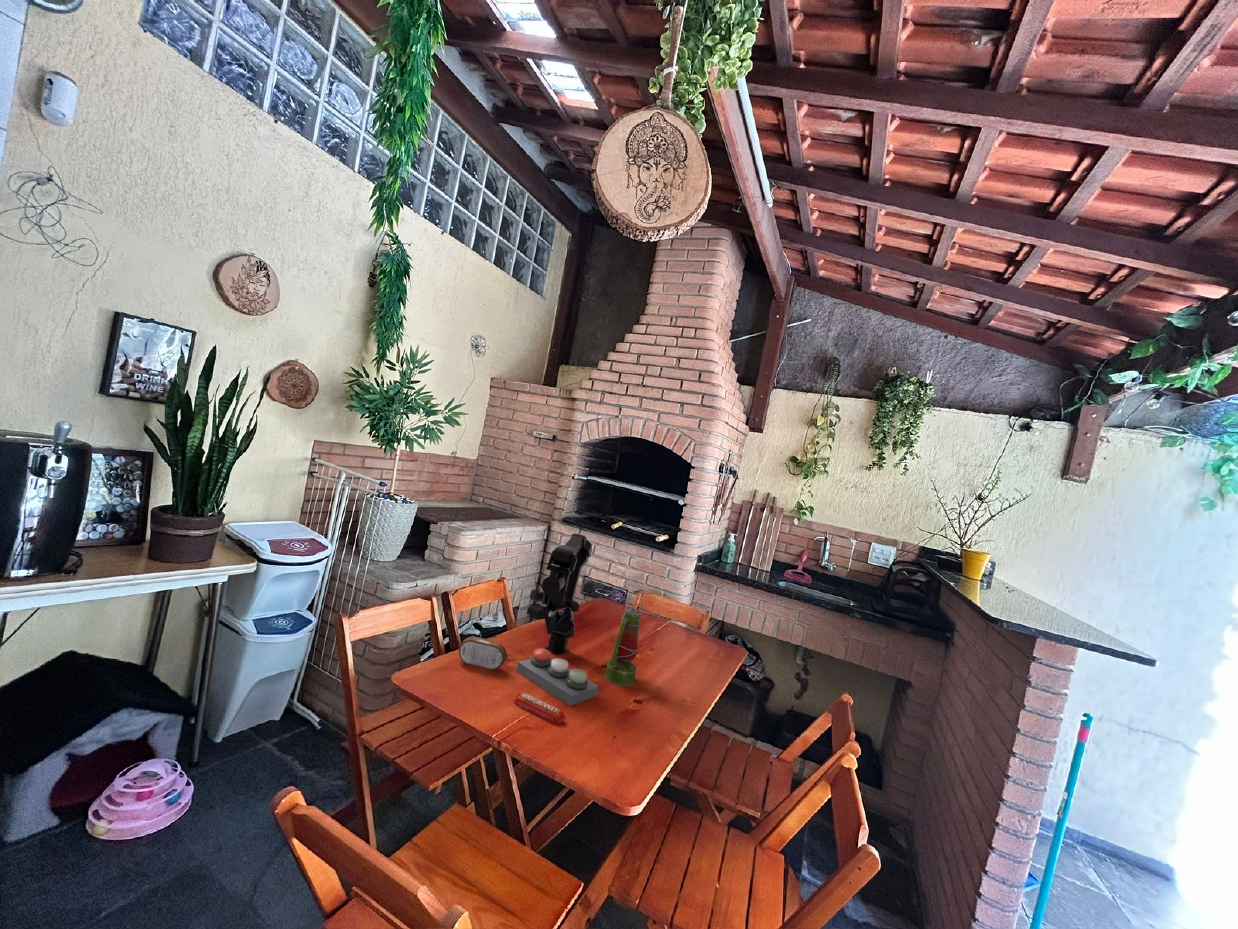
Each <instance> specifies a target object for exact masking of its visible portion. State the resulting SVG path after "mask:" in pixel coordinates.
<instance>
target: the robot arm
mask: <svg viewBox="0 0 1238 929" xmlns="http://www.w3.org/2000/svg"><path fill="white" fill-rule="evenodd" d="M551 551H552V552H551V553H550V556H549V560H548V561H547V562H548V563H547V565H546V567H545V568H546V570H547V571H549V575H548V576H546V577H545V578H544V579H543V580H542V582H541V589H542V590H539V588H537V589H531V591H530V594H529V596H530V600H531V601H533V603H535V604H530V605H528V606H527V610H526V614H527V615H529V616H531V617H532V618H534V619H536V620H539V621H541V620H544V622H545V628H546V633H547V634H548V635H550V637H549V640H548V644H547V645H546V646H544V649H546V650H548V651H550V652H551V653H552V654H555V655H559V656H560V655H563V654H566V653H569V652H570V649H568V644H569V639H570V638H574V637H575V632H576V631H575V630H576V629H575V628H576V625H575V621H574V619H575V618H574V617H575V616H574V613H576V612H579V609H580V603H579V602H578V601H576V600H575V596H576V591H577V589H578V584H579V580H580V576H581V573H582V572H581V571H582V569H583V568H584V566H585V565H587V563H588V562H589V558H591V557H592V553H593V546H592V543H591V542H590V541H589V540H588V538H587V536H585V535H583V534H579V533H572V534H571V537H570V538H569V540H568V541H567V542H566V543H565V544H564V545H558V546H556V547H555V548H554V549H553V550H551ZM537 602H541V604H540V603H537Z"/></svg>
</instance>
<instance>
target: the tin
mask: <svg viewBox="0 0 1238 929" xmlns="http://www.w3.org/2000/svg"><path fill="white" fill-rule="evenodd" d="M458 656H459V658H460V660H461V661H462V662H463V663H465V664H466V665H470V666H473V667H477V668H481V669H484V668H485V669H486V670H489V671H496V670H498V669H500V668H501V667H502V666H504V664H505V662H506V661H507V658H508V652H507V649H506V648H505V646H504V645H503V644H502V643H500V642H498V641H494V640H491V639H486V638H482V637H478V636H468V637H466V638H465V639H464V640H463V641H462V642H461V644H459V647H458Z"/></svg>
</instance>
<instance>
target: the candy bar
mask: <svg viewBox="0 0 1238 929" xmlns="http://www.w3.org/2000/svg"><path fill="white" fill-rule="evenodd" d="M513 702H514V703H515V704H516V706H518V705H519V706H518V707H520V706H521V707H520V708H522V707H523V708H522V709H524V708H525V710H526V709H527V710H526V711H528V710H529V712H530V711H531V712H530V713H532V712H533V713H532V714H534V713H535V715H536V716H538V715H539V716H538V717H540V716H541V718H543V720H546V719H547V721H548V722H550V723H553V724H556V725H558V724H559V725H561V724H562V723H563V721H564V720H566V715H565V714H564V711H562V710H561V709H560V708H558V707H556V706H554V705H551V704H550V703H547V702H545V701H543V700H541V699H538V698H537V697H535V696H532V695H530V694H528V693H527V692H521V693H518V694H517V695H516V696H515V698H514V699H513Z"/></svg>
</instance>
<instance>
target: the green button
mask: <svg viewBox="0 0 1238 929" xmlns="http://www.w3.org/2000/svg"><path fill="white" fill-rule="evenodd" d="M570 670H571V671H570V675H569V680H570V681H572V682H574V683H578V684H582V683H585V682H586V679H588V678H587V677H588V672H587V671H585V670H583V669H579V668H572V669H570Z"/></svg>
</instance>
